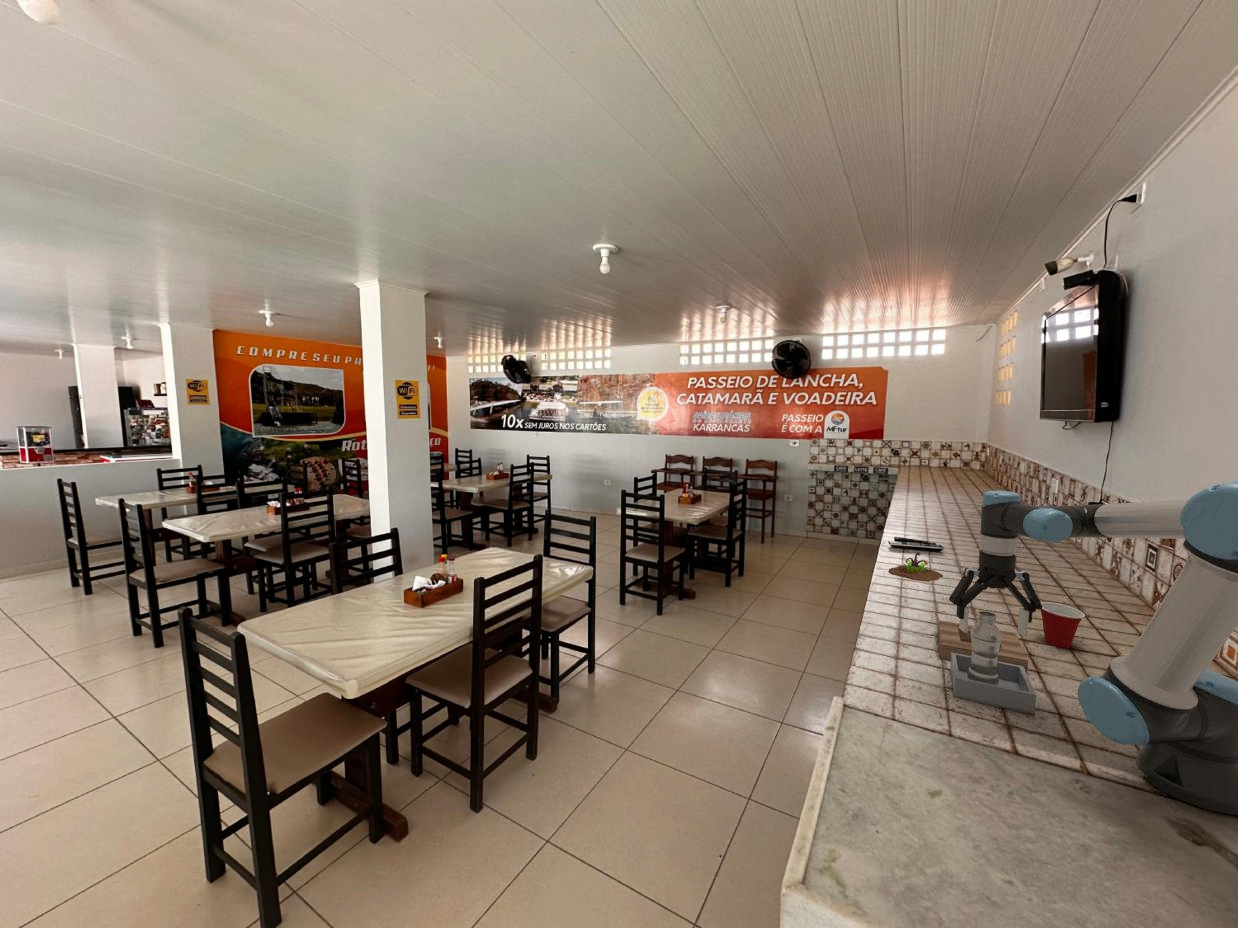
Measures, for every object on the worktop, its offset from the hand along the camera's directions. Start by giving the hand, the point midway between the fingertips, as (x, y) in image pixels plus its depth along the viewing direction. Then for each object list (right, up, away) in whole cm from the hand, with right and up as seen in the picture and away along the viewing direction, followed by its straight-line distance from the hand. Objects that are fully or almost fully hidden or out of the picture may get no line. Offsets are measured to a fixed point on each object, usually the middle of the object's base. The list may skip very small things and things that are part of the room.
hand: (992, 632), depth 128 cm
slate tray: (0, -16, +2) cm, 16 cm away
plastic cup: (+40, -13, +26) cm, 50 cm away
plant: (+36, -7, +94) cm, 101 cm away
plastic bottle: (-1, -15, +2) cm, 15 cm away
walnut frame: (+12, -14, +22) cm, 29 cm away
